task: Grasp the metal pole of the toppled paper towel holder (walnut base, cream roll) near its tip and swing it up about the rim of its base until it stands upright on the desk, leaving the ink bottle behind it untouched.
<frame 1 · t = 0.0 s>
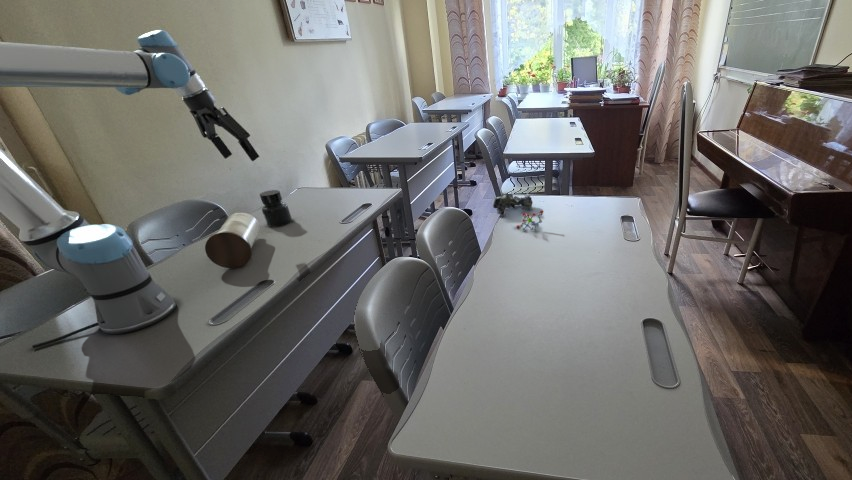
hand: (241, 157, 131), 28 cm above the table, tool tilted 20°, fingers open, 13 cm apart
towel holder: (239, 233, 132), point 6 cm above the table, hinge at -0.1°
molecular model: (529, 229, 139), on the table
dark grey lumpy piece: (513, 211, 155), on the table
ink bottle: (280, 223, 156), on the table
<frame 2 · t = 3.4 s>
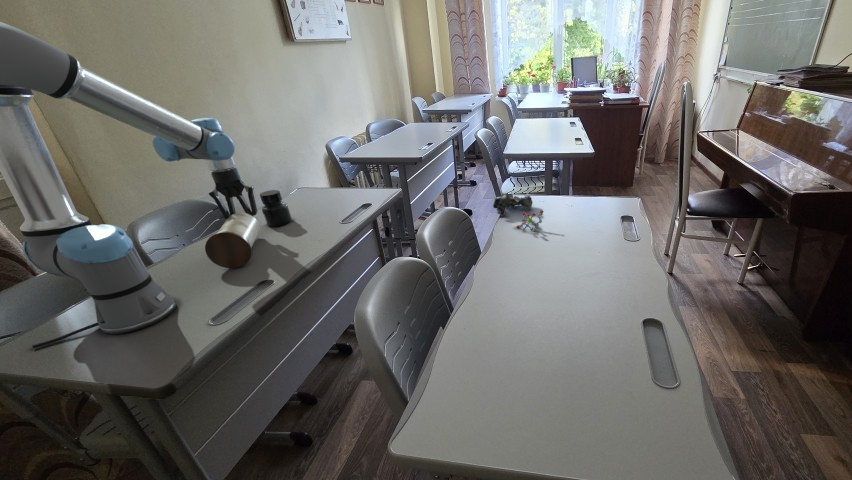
hand: (249, 235, 142), 2 cm above the table, tool pointing down, fingers closed on towel holder, 2 cm apart
towel holder: (239, 233, 132), point 6 cm above the table, hinge at -0.1°, touching gripper
everything else where it was.
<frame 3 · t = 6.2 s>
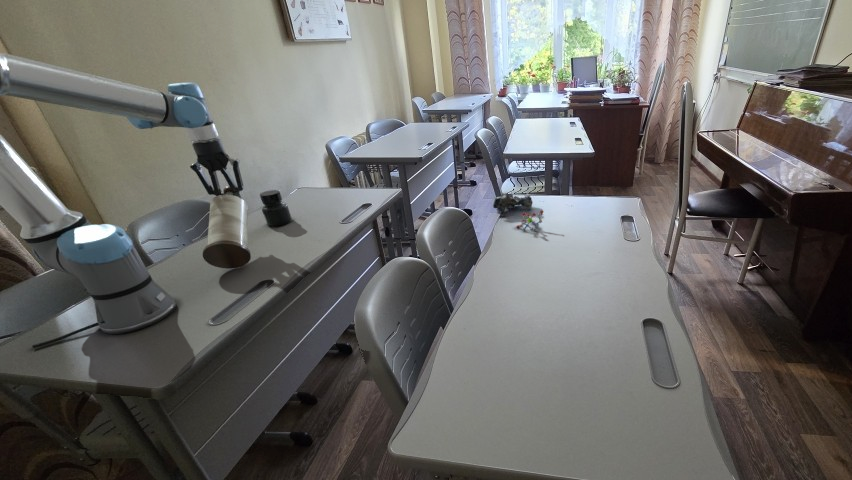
hand: (235, 212, 133), 12 cm above the table, tool pointing down, fingers closed on towel holder, 2 cm apart
towel holder: (228, 220, 125), point 12 cm above the table, hinge at 27.5°, touching gripper
everything else where it was.
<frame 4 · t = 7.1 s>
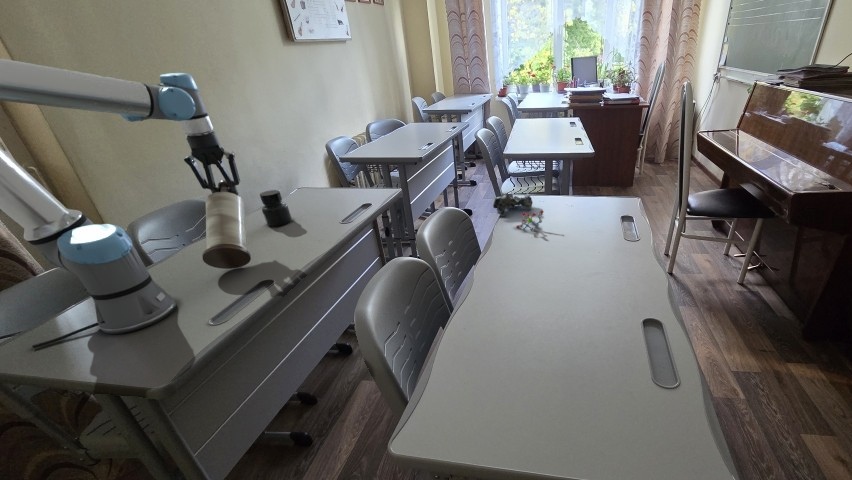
hand: (231, 206, 130), 14 cm above the table, tool pointing down, fingers closed on towel holder, 3 cm apart
towel holder: (225, 218, 123), point 13 cm above the table, hinge at 35.1°, touching gripper
everything else where it was.
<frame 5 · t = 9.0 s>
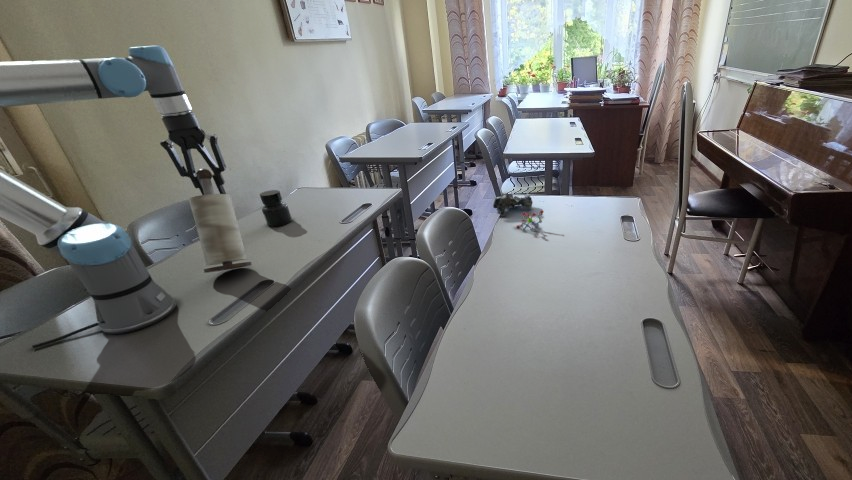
hand: (215, 196, 119), 21 cm above the table, tool pointing down, fingers closed on towel holder, 4 cm apart
towel holder: (215, 219, 116), point 16 cm above the table, hinge at 65.1°, touching gripper
everything else where it was.
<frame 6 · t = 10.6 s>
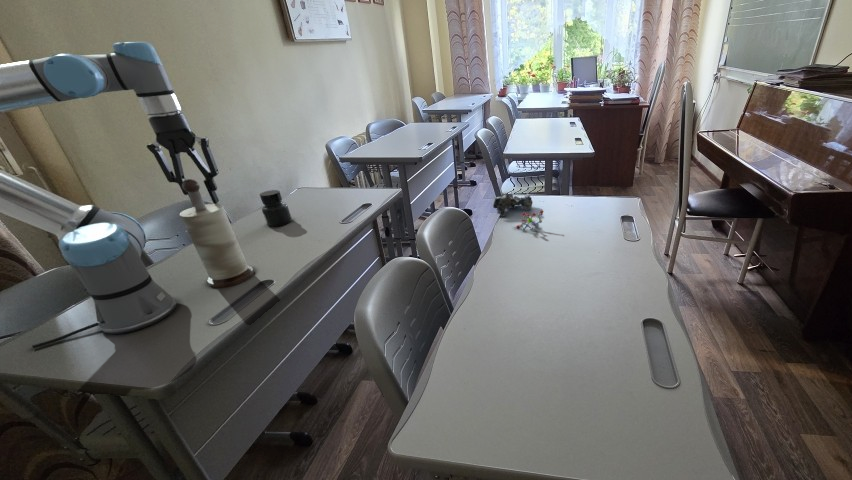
hand: (206, 203, 111), 21 cm above the table, tool pointing down, fingers open, 4 cm apart
towel holder: (211, 231, 111), point 15 cm above the table, hinge at 90.0°, touching gripper
everything else where it was.
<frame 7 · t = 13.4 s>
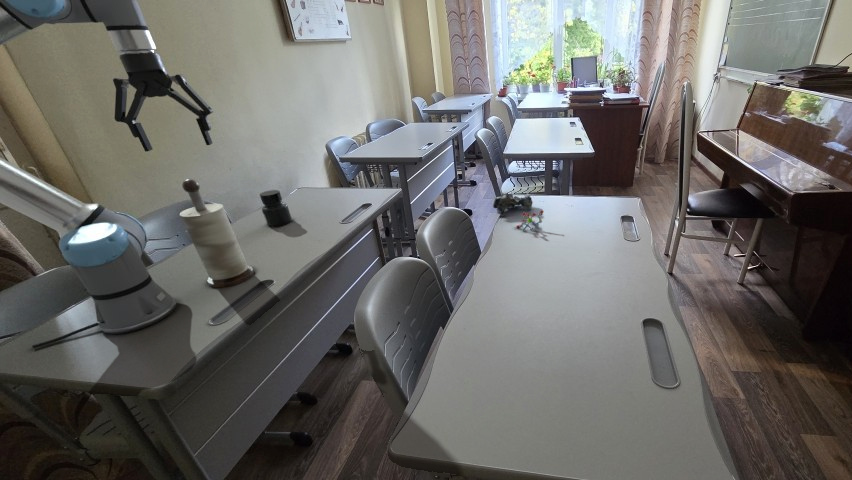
hand: (180, 147, 103), 37 cm above the table, tool pointing down, fingers open, 13 cm apart
towel holder: (211, 231, 111), point 15 cm above the table, hinge at 90.0°
everything else where it was.
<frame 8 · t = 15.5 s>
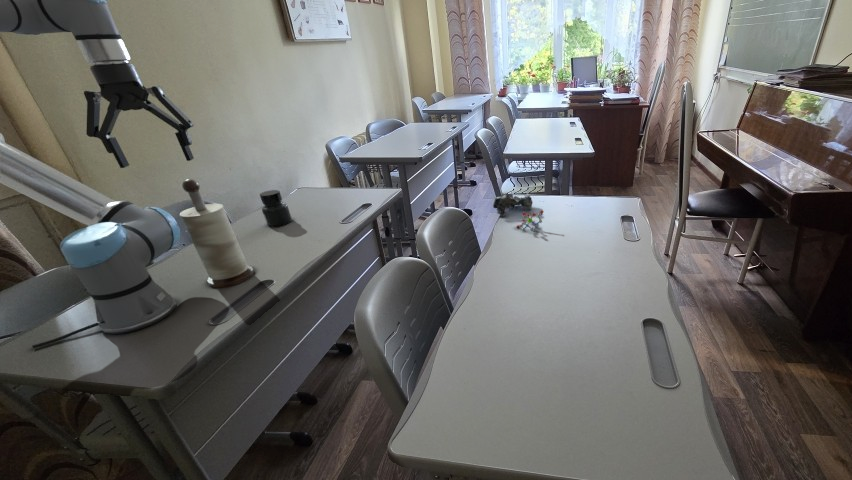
hand: (158, 163, 96), 35 cm above the table, tool pointing down, fingers open, 13 cm apart
nothing on the table moved.
at the end: towel holder at +90° (first picture: +0°); the gripper is holding nothing; ink bottle moved 0.2 cm from its start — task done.
